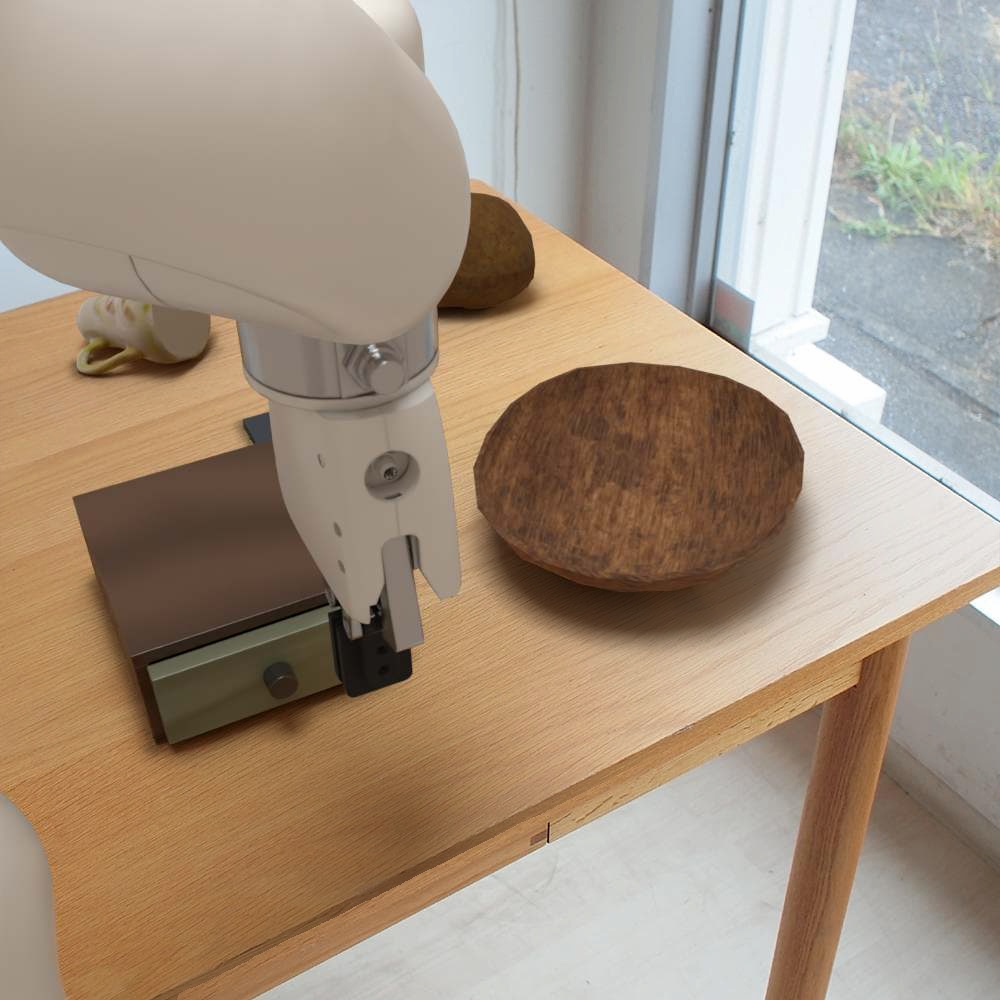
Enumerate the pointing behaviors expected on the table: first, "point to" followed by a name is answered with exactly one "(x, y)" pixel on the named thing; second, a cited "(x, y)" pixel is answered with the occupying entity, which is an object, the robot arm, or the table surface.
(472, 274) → the potato
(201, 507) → the cabinet
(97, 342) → the mug
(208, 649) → the drawer
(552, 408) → the bowl
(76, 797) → the table surface
